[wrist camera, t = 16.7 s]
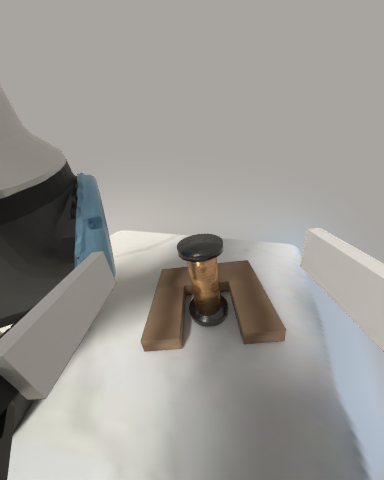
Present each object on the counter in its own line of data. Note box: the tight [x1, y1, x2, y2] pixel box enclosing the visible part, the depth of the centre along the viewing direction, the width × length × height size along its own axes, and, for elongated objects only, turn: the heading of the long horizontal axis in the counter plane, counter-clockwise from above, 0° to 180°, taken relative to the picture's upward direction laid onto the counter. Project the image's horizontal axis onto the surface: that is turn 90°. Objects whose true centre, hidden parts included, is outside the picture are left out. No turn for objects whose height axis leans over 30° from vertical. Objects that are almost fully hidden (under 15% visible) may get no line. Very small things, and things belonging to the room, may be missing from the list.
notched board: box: [141, 260, 286, 351], centre depth 29 cm, size 18×16×2 cm
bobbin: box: [177, 234, 228, 326], centre depth 25 cm, size 6×6×12 cm
